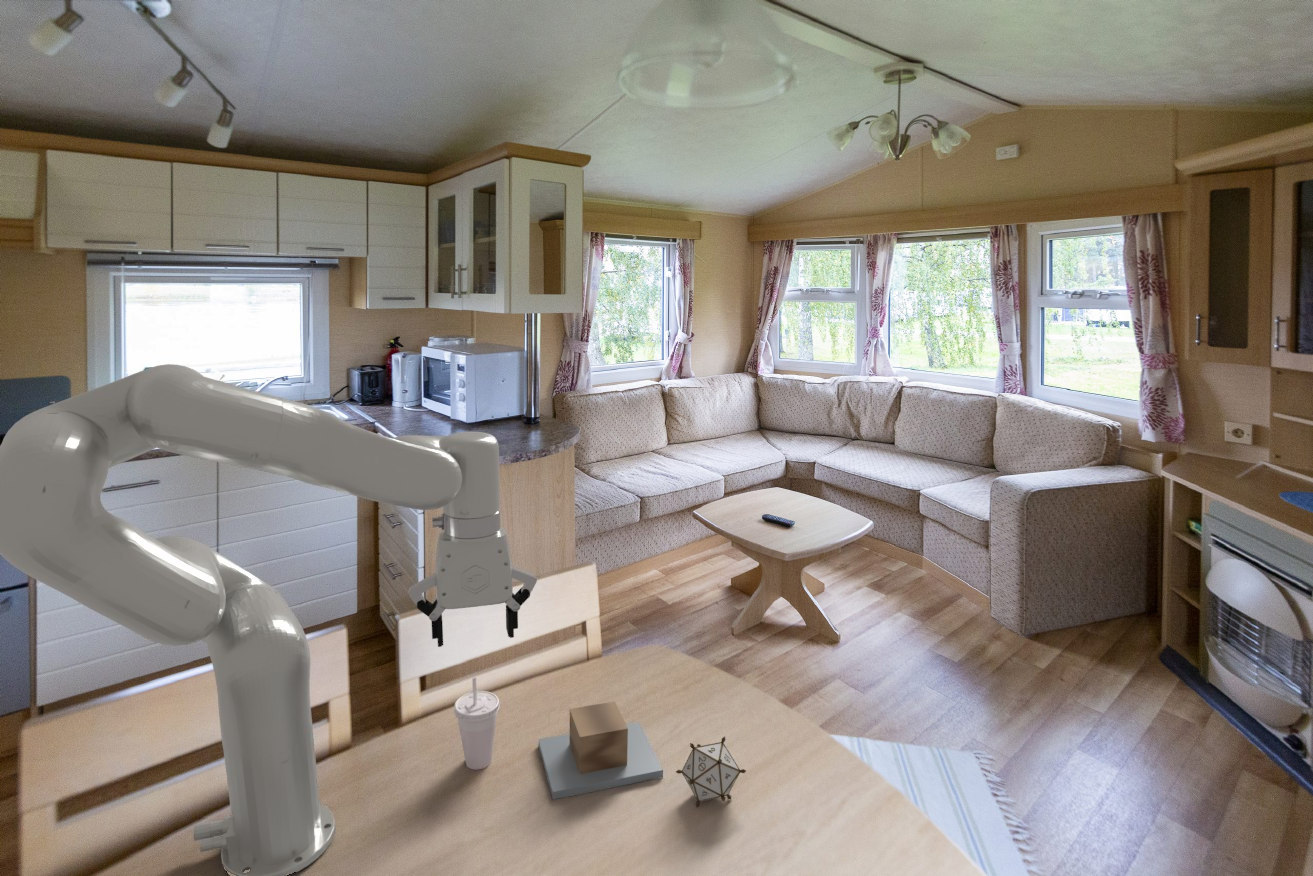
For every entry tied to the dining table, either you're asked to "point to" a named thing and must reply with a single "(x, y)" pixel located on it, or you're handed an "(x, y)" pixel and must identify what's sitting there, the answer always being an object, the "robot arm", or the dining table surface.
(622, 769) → the plate
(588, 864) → the dining table surface
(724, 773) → the game die
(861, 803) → the dining table surface
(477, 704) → the smoothie
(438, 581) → the robot arm
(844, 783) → the dining table surface
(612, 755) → the walnut block
